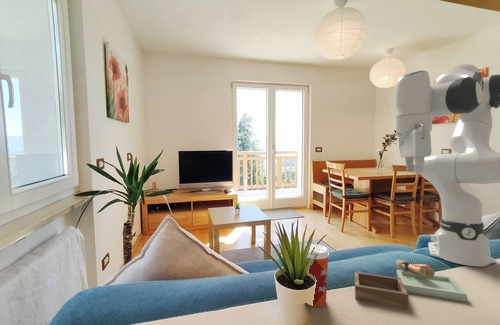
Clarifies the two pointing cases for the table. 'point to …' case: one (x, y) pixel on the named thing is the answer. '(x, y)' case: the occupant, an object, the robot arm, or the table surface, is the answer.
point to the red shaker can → (319, 273)
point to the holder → (380, 289)
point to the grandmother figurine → (416, 268)
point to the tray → (432, 285)
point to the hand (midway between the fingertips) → (414, 172)
